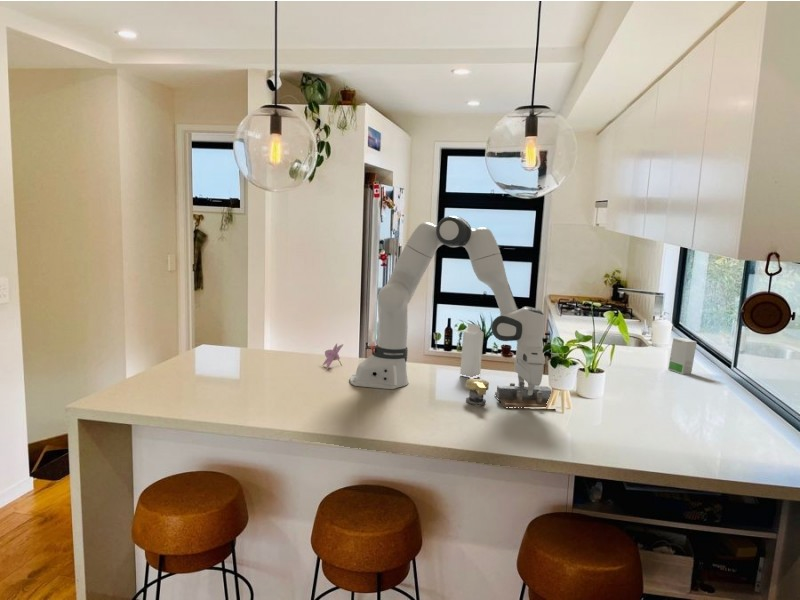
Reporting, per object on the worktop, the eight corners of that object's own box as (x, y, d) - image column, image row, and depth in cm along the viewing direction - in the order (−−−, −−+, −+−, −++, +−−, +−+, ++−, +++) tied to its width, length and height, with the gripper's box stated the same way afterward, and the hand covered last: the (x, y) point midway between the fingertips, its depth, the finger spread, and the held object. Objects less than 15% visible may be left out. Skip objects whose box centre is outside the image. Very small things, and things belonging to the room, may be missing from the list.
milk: (471, 379, 230) (475, 326, 227) (459, 376, 234) (463, 323, 231) (480, 377, 234) (484, 325, 231) (468, 374, 239) (472, 322, 235)
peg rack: (505, 408, 196) (506, 393, 195) (494, 395, 210) (496, 381, 209) (555, 409, 198) (557, 394, 197) (542, 397, 212) (543, 383, 211)
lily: (325, 363, 245) (317, 346, 241) (351, 355, 244) (343, 337, 240) (325, 379, 234) (316, 361, 230) (352, 370, 234) (343, 351, 229)
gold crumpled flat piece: (463, 383, 204) (464, 377, 204) (485, 384, 205) (485, 378, 204) (470, 394, 192) (471, 387, 192) (493, 394, 193) (494, 388, 193)
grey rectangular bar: (499, 400, 200) (500, 389, 200) (495, 395, 205) (496, 384, 205) (551, 401, 202) (552, 390, 202) (546, 397, 207) (547, 386, 206)
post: (468, 405, 197) (469, 391, 197) (464, 398, 204) (465, 385, 204) (487, 405, 198) (489, 391, 197) (483, 399, 205) (484, 385, 204)
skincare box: (667, 369, 268) (671, 337, 266) (677, 369, 271) (681, 337, 269) (682, 374, 261) (687, 341, 259) (692, 373, 264) (697, 340, 262)
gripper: (511, 346, 211) (508, 382, 213) (529, 359, 191) (525, 399, 193) (528, 346, 212) (524, 382, 214) (547, 360, 192) (543, 399, 194)
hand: (525, 390), depth 203 cm, fingers open, 8 cm apart
